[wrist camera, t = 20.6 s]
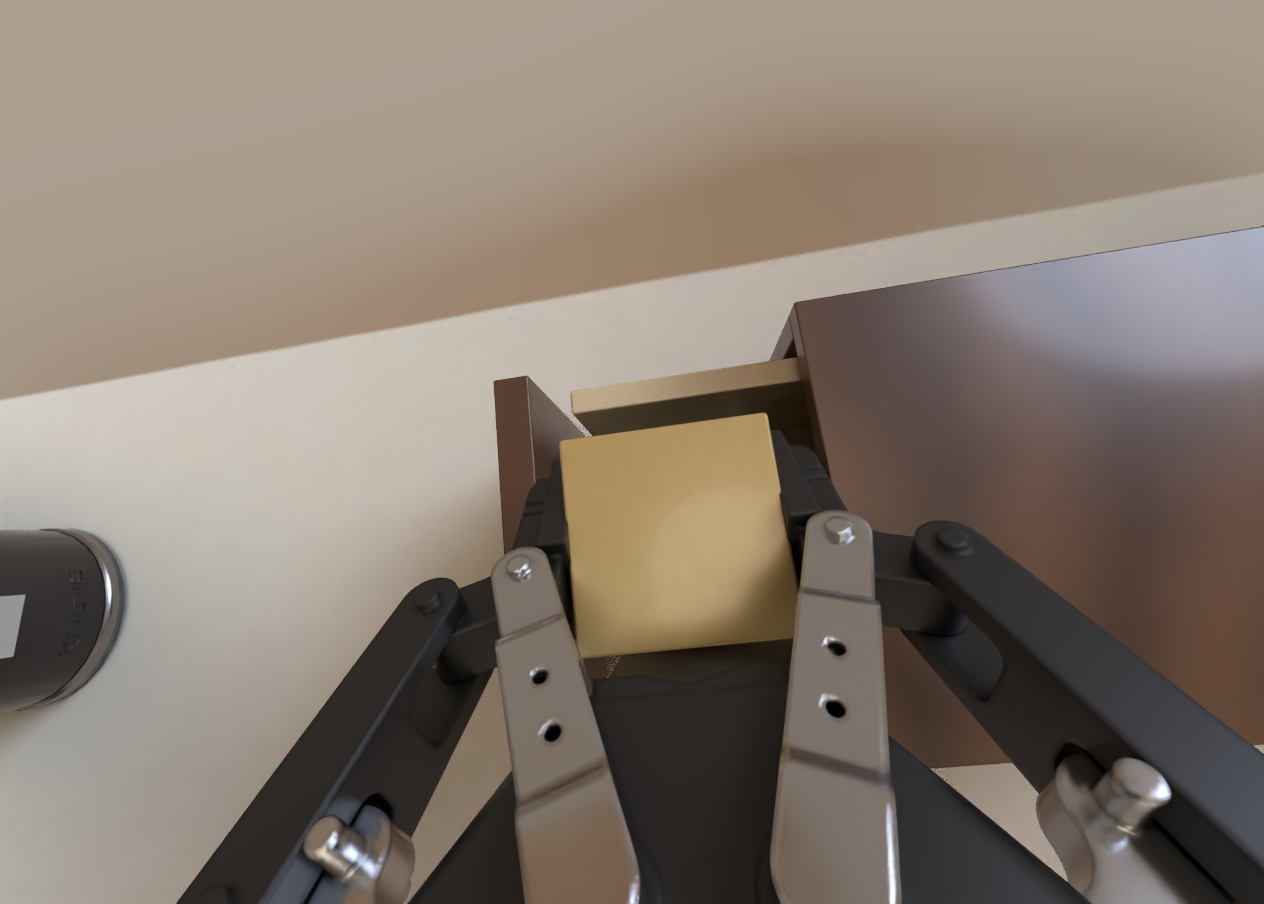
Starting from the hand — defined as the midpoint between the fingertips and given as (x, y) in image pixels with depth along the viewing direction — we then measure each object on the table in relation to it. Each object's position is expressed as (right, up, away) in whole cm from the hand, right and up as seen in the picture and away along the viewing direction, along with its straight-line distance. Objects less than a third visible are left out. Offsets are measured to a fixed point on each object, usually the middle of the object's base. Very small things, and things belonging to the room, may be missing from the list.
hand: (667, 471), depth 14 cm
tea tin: (+1, -3, +4) cm, 5 cm away
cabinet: (+12, -2, +9) cm, 15 cm away
